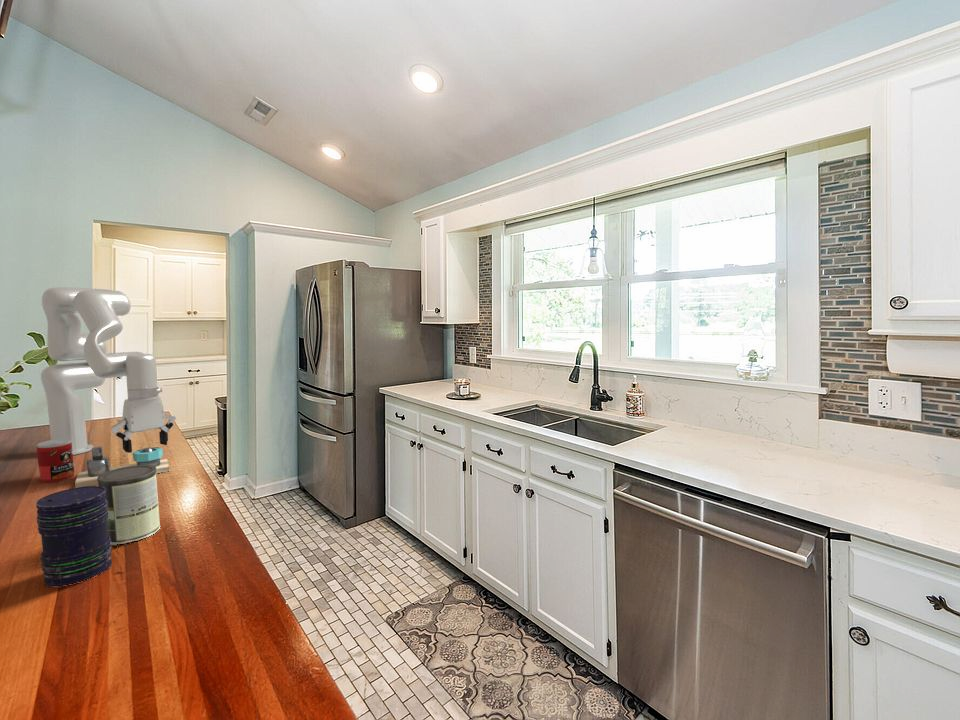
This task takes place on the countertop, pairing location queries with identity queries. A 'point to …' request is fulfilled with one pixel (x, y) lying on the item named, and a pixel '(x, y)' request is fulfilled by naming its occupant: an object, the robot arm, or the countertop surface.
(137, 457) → the teal octagonal collar
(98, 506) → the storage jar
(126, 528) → the coffee can
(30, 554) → the countertop surface
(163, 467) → the base board
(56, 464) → the canned food
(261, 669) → the countertop surface
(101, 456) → the stand
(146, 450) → the knob
